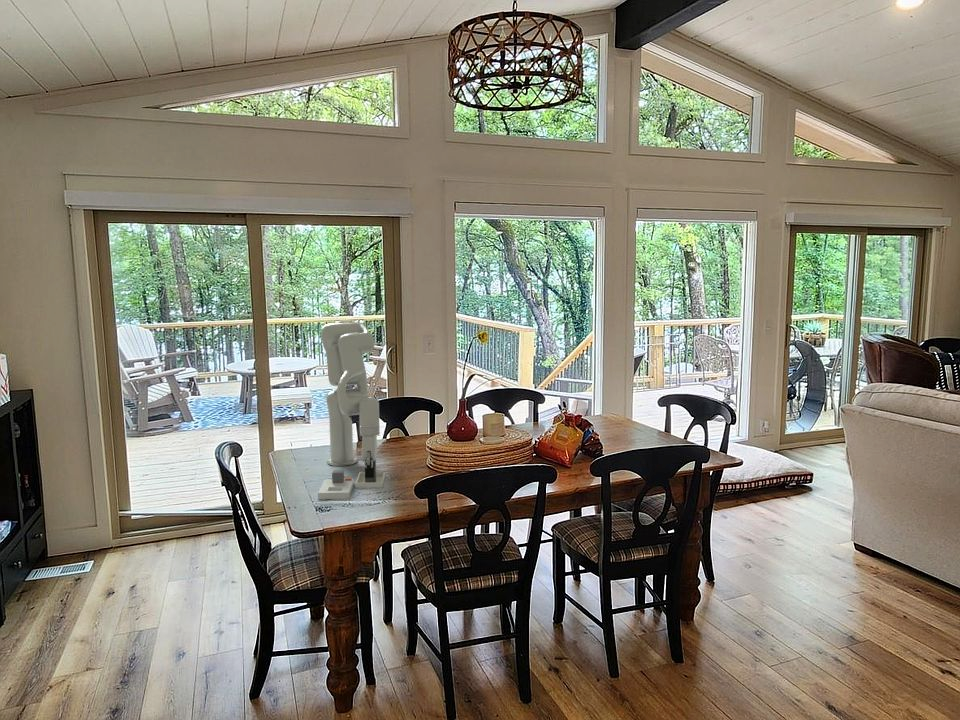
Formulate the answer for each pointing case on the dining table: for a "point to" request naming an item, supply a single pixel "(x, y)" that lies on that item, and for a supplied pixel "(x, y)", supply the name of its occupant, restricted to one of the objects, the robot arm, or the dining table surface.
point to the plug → (374, 473)
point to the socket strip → (336, 486)
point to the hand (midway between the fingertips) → (370, 473)
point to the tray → (361, 482)
